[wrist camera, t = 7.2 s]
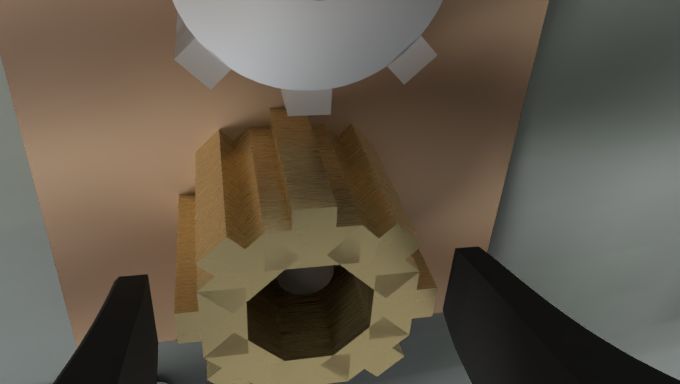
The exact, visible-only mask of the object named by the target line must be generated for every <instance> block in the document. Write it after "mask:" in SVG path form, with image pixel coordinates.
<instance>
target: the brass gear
mask: <svg viewBox="0 0 680 384" xmlns="http://www.w3.org/2000/svg"><path fill="white" fill-rule="evenodd" d="M421 246H423V245H422V243H421V241H420V239H419V237H418V235H417V233H416V231H415V229H414V227H413V225H412V223H411V221H410V219H409V217H408V215H407V213H406V210H405V208H404V206H403V204H402V202H401V200H400V198H399V196H398V194H397V192H396V190H395V188H394V186H393V184H392V182H391V180H390V178H389V176H388V174H387V172H386V170H385V168H384V166H383V164H382V162H381V160H380V158H379V155H378V153H377V151H376V149H375V147H374V145H373V143H372V142H371V141H369V140H368V139H367V138H366V137H365V136H364V135H363V134H362V133H361V132H360V131H359V130H358V129H357V128H356V127H354V126H353V125H352V124H350V125H349V126H348V127H347V128H346V129H345V130H344V131H343V132H342V133H340V134H339V135H338V136H337V135H336V134H335V133H334V132H333V131H332V130H331V129H329V128H328V127H327V126H326V125H325V124H310V123H309V120H308V117H307V116H288V115H287V111H286V108H269V126H259V127H248V128H246V129H245V130H244V131H243V132H242V133H241V134H240V135H239V136H238V137H237V138H236V139H235V140H234V141H233V140H232V139H231V138H229V137H228V136H227V135H226V134H224V133H223V132H222V131H220V130H218V131H217V132H216V133H215V134H214V135H213V136H211V137H210V138H209V139H208V140H207V141H206V142H205V143H204V144H203V145H202V146H201V147H200V148H199V149H198V150H197V151H196V152H195V194H181V195H179V202H178V227H177V253H176V279H175V305H174V317H175V324H176V332H177V339H178V344H182V343H191V342H200V341H202V349H203V358H204V359H206V360H207V380H208V381H210V382H212V383H214V384H250V383H252V384H330V383H338V382H346V381H349V380H350V379H352V378H353V377H354V376H356V375H357V374H358V373H360V372H361V371H362V370H364V369H365V370H367V371H369V372H370V373H372V374H373V375H375V376H379V375H380V374H381V373H383V372H384V371H385V370H387V369H388V368H389V367H391V366H392V365H393V364H395V363H396V362H398V361H399V360H400V359H402V358H403V357H404V354H403V351H402V348H401V345H400V343H399V342H401V341H402V340H403V339H405V338H406V337H407V336H409V333H410V327H411V321H412V319H413V318H423V317H432V315H433V310H434V305H435V299H436V294H437V289H438V287H437V285H436V283H435V281H434V279H433V277H432V275H431V273H430V271H429V269H428V267H427V265H426V262H425V260H424V258H423V256H422V254H421V252H420V250H419V248H420V247H421ZM330 265H333V267H334V273H333V276H332V278H331V280H330V282H329V283H328V284H327V285H326V286H325V287H323V288H322V289H320V290H319V291H316V292H314V293H310V294H304V295H299V294H293V293H290V292H287V291H286V290H284V289H283V288H282V287H281V286H280V285H279V283H278V280H277V276H278V275H279V274H280V273H282V272H283V271H284V270H285V269H296V268H308V267H319V266H330Z"/></svg>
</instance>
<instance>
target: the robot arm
mask: <svg viewBox="0 0 680 384" xmlns="http://www.w3.org/2000/svg"><path fill="white" fill-rule="evenodd" d="M443 313H444V316H445V319H446V322H447V326H448V329H449V332H450V335H451V338H452V341H453V343H454V346H455V349H456V351H457V353H458V355H459V357H460V359H461V361H462V364H463V366H464V368H465V370H466V372H467V374H468V376H469V378H470V380H471V382H472V384H680V380H677V379H675V378H673V377H671V376H669V375H667V374H665V373H663V372H661V371H659V370H657V369H655V368H653V367H651V366H649V365H647V364H645V363H643V362H641V361H639V360H637V359H636V358H634V357H632V356H630V355H628V354H627V353H625V352H623V351H621V350H620V349H618V348H616V347H615V346H613V345H611V344H610V343H608V342H606V341H605V340H603V339H601V338H600V337H598V336H596V335H595V334H593V333H592V332H590V331H589V330H587V329H586V328H584V327H583V326H581V325H580V324H578V323H577V322H575V321H574V320H573V319H571V318H570V317H568V316H567V315H565V314H564V313H563V312H561V311H560V310H558V309H557V308H556V307H554V306H553V305H552V304H550V303H549V302H548V301H546V300H545V299H544V298H542V297H541V296H540V295H539V294H537V293H536V292H535V291H534V290H532V289H531V288H530V287H528V286H527V285H526V284H525V283H523V282H522V281H521V280H520V279H519V278H517V277H516V276H515V275H514V274H512V273H511V272H510V271H509V270H508V269H506V268H505V267H504V266H503V265H501V264H500V263H499V262H498V261H497V260H495V259H494V258H493V257H492V256H490V255H489V254H488V253H487V252H485V251H484V250H483V249H482V248H480V247H479V246H476V247H464V248H455V252H454V257H453V261H452V266H451V271H450V276H449V281H448V286H447V291H446V295H445V300H444V305H443ZM157 364H158V337H157V331H156V324H155V317H154V311H153V304H152V298H151V291H150V285H149V278H148V274H144V275H132V276H120V277H118V278H117V279H116V280H115V281H114V283H113V285H112V287H111V290H110V292H109V294H108V296H107V298H106V300H105V302H104V304H103V305H102V307H101V309H100V311H99V313H98V315H97V316H96V318H95V320H94V322H93V323H92V325H91V327H90V328H89V330H88V332H87V333H86V335H85V337H84V338H83V340H82V341H81V343H80V345H79V346H78V348H77V350H76V351H75V353H74V354H73V356H72V357H71V359H70V360H69V361H68V363H67V364H66V366H65V367H64V369H63V370H62V371H61V373H60V374H59V376H58V377H57V379H56V380H55V381H54V383H53V384H168V383H164V382H157Z"/></svg>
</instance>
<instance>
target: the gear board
mask: <svg viewBox="0 0 680 384" xmlns="http://www.w3.org/2000/svg"><path fill="white" fill-rule="evenodd" d="M548 3H549V0H0V55H1V58H2V62H3V66H4V70H5V74H6V78H7V81H8V85H9V89H10V93H11V97H12V101H13V104H14V108H15V112H16V116H17V120H18V124H19V127H20V131H21V135H22V139H23V143H24V147H25V150H26V154H27V158H28V162H29V166H30V170H31V173H32V177H33V181H34V185H35V189H36V193H37V196H38V200H39V204H40V208H41V212H42V215H43V219H44V223H45V227H46V231H47V235H48V238H49V242H50V246H51V250H52V254H53V258H54V261H55V265H56V269H57V273H58V277H59V281H60V284H61V288H62V292H63V296H64V300H65V304H66V307H67V311H68V315H69V319H70V323H71V327H72V330H73V334H74V338H75V342H76V346H77V348H78V346H79V345H80V343H81V341H82V340H83V338H84V337H85V335H86V333H87V332H88V330H89V328H90V327H91V325H92V323H93V322H94V320H95V318H96V316H97V315H98V313H99V311H100V309H101V307H102V305H103V304H104V302H105V300H106V298H107V296H108V294H109V292H110V290H111V287H112V285H113V283H114V281H115V280H116V279H117V278H118V277H120V276H132V275H144V274H148V278H149V285H150V291H151V298H152V304H153V311H154V317H155V324H156V331H157V337H158V342H163V341H173V340H178V339H177V332H176V324H175V317H174V305H175V279H176V253H177V227H178V202H179V195H181V194H195V152H196V151H197V150H198V149H199V148H200V147H201V146H202V145H203V144H204V143H205V142H206V141H207V140H208V139H209V138H210V137H211V136H213V135H214V134H215V133H216V132H217V131H218V130H220V131H222V132H223V133H224V134H226V135H227V136H228V137H229V138H231V139H232V140H233V141H234V140H235V139H236V138H237V137H238V136H239V135H240V134H241V133H242V132H243V131H244V130H245V129H246V128H248V127H259V126H269V108H286V111H287V115H288V116H307V117H308V120H309V123H310V124H325V125H326V126H327V127H328V128H329V129H331V130H332V131H333V132H334V133H335V134H336V135H337V136H338V135H339V134H340V133H342V132H343V131H344V130H345V129H346V128H347V127H348V126H349V125H350V124H352V125H353V126H354V127H356V128H357V129H358V130H359V131H360V132H361V133H362V134H363V135H364V136H365V137H366V138H367V139H368V140H369V141H371V142H372V143H373V145H374V147H375V149H376V151H377V153H378V155H379V158H380V160H381V162H382V164H383V166H384V168H385V170H386V172H387V174H388V176H389V178H390V180H391V182H392V184H393V186H394V188H395V190H396V192H397V194H398V196H399V198H400V200H401V202H402V204H403V206H404V208H405V210H406V213H407V215H408V217H409V219H410V221H411V223H412V225H413V227H414V229H415V231H416V233H417V235H418V237H419V239H420V241H421V243H422V245H423V246H421V247H420V248H419V250H420V252H421V254H422V256H423V258H424V260H425V262H426V265H427V267H428V269H429V271H430V273H431V275H432V277H433V279H434V281H435V283H436V285H437V287H438V289H437V294H436V299H435V305H434V310H433V313H442V312H443V305H444V300H445V295H446V291H447V286H448V281H449V276H450V271H451V266H452V261H453V257H454V252H455V248H464V247H476V246H479V247H480V248H482V249H483V250H484V251H485V252H487V251H488V247H489V243H490V239H491V235H492V231H493V226H494V222H495V218H496V214H497V210H498V206H499V202H500V198H501V194H502V190H503V186H504V182H505V178H506V174H507V170H508V166H509V161H510V157H511V153H512V149H513V145H514V141H515V137H516V133H517V129H518V125H519V121H520V117H521V113H522V109H523V105H524V101H525V97H526V92H527V88H528V84H529V80H530V76H531V72H532V68H533V64H534V60H535V56H536V52H537V48H538V44H539V40H540V36H541V32H542V27H543V23H544V19H545V15H546V11H547V7H548ZM333 273H334V267H333V265H330V266H319V267H308V268H296V269H285V270H284V271H283V272H282V273H280V274H279V275H278V276H277V280H278V283H279V285H280V286H281V287H282V288H283V289H284V290H286V291H287V292H290V293H293V294H299V295H304V294H310V293H314V292H316V291H319V290H320V289H322V288H323V287H325V286H326V285H327V284H328V283H329V282H330V280H331V278H332V276H333Z"/></svg>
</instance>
